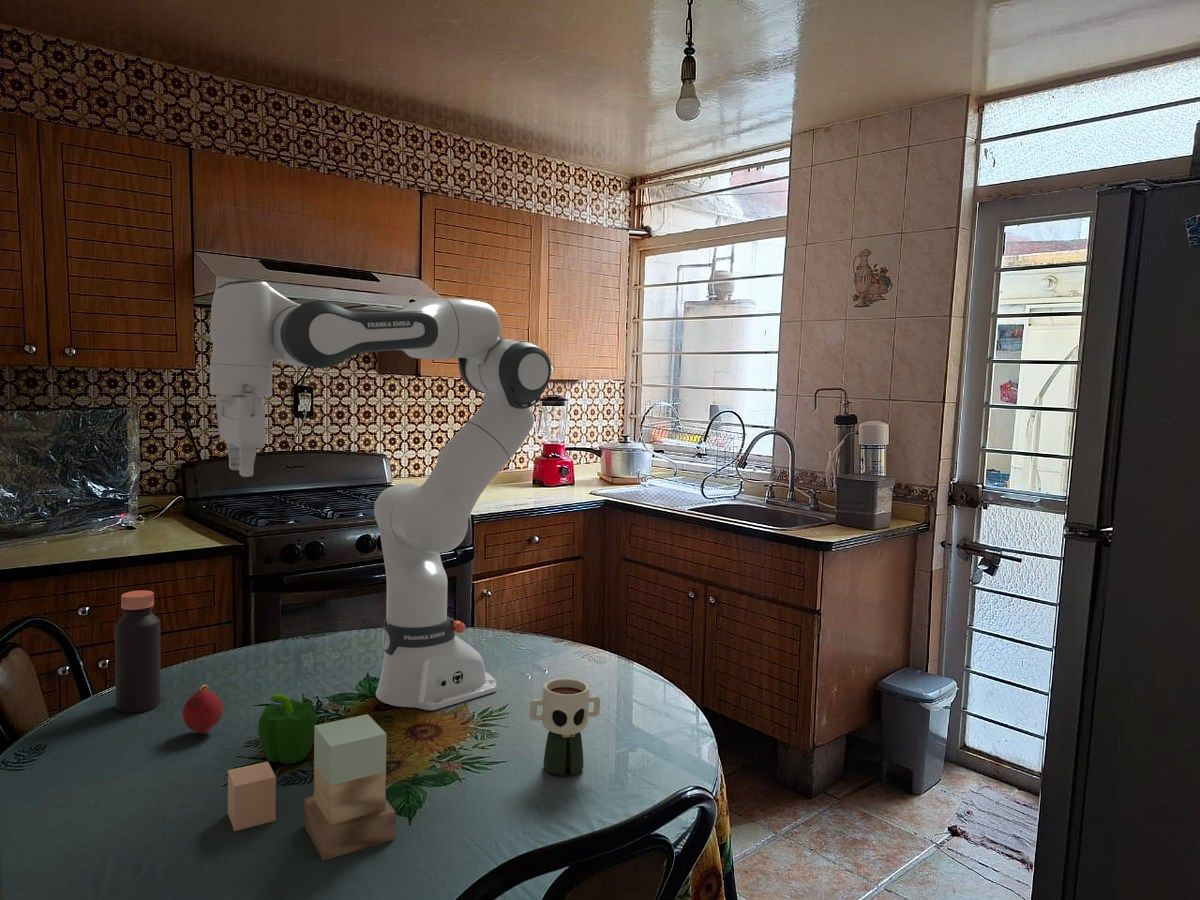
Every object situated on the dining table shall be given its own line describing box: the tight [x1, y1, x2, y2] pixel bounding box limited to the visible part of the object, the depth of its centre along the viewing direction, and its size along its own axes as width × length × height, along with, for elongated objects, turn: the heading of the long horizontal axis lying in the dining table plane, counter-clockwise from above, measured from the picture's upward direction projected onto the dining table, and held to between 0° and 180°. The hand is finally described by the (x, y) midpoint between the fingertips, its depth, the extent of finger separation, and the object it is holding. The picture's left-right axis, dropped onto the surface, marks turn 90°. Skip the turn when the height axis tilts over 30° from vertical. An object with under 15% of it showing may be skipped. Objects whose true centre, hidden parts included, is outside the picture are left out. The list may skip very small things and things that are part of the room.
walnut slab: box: [303, 795, 397, 861], centre depth 102 cm, size 9×9×4 cm
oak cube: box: [313, 762, 387, 825], centre depth 101 cm, size 7×7×5 cm
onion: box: [182, 684, 224, 735], centre depth 128 cm, size 6×6×8 cm
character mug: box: [529, 677, 601, 776], centre depth 121 cm, size 11×7×13 cm, turn 105°
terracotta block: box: [227, 761, 277, 832], centre depth 104 cm, size 5×5×6 cm
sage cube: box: [313, 714, 387, 786], centre depth 101 cm, size 7×7×5 cm
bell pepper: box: [257, 693, 318, 765], centre depth 121 cm, size 8×8×10 cm
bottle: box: [114, 589, 162, 714], centre depth 137 cm, size 7×7×20 cm
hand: (240, 472), depth 123 cm, fingers open, 8 cm apart
